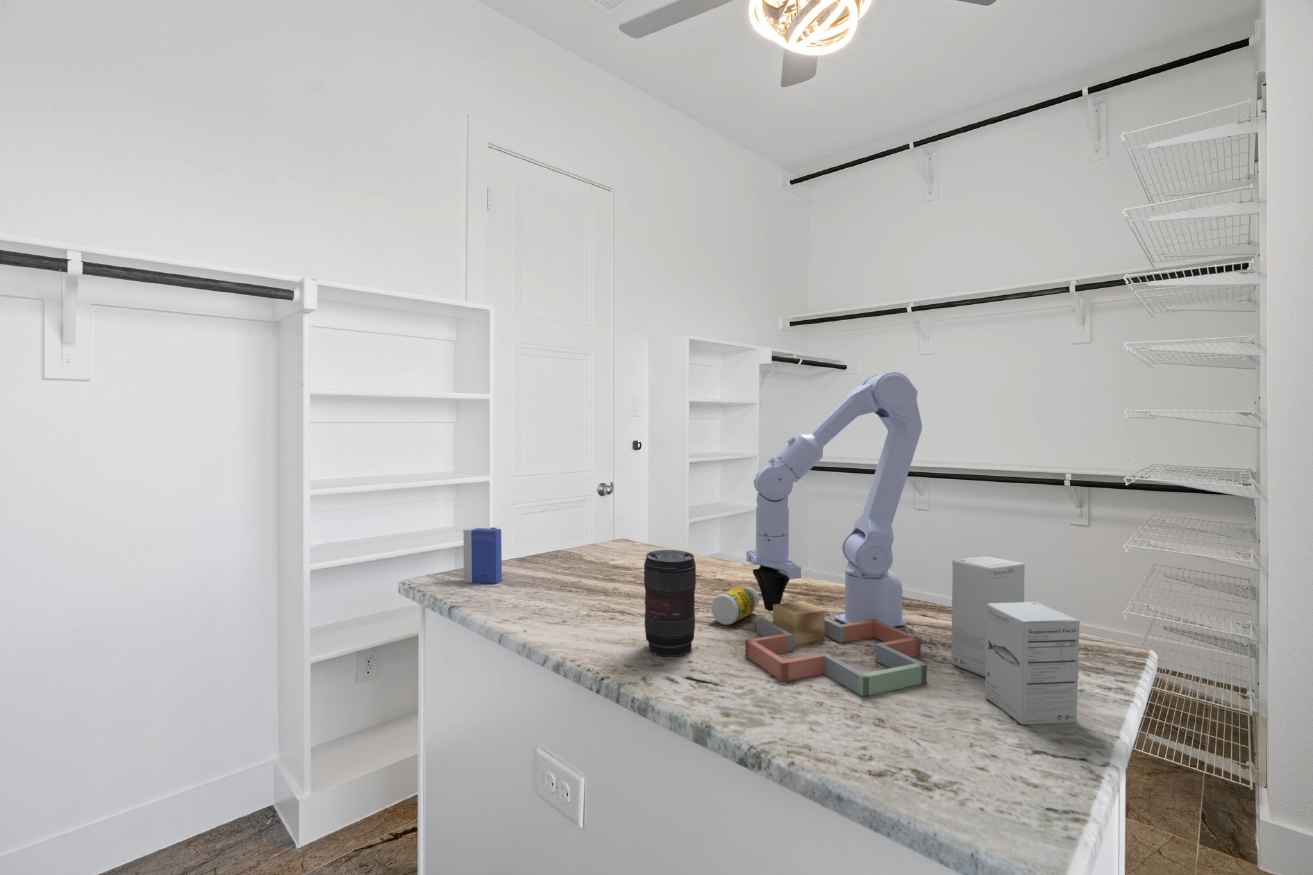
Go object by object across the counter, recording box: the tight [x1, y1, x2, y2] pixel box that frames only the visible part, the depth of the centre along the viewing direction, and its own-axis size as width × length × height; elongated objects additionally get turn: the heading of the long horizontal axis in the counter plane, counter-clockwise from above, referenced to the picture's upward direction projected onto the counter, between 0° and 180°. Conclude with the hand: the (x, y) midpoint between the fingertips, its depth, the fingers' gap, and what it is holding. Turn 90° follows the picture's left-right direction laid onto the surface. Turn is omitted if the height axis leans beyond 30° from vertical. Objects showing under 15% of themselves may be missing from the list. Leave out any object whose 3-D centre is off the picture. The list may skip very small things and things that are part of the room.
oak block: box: [772, 600, 826, 646], centre depth 104 cm, size 6×6×5 cm
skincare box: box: [950, 555, 1025, 678], centre depth 92 cm, size 8×7×16 cm
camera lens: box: [643, 549, 697, 657], centre depth 98 cm, size 8×8×15 cm
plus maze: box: [744, 616, 928, 697], centre depth 96 cm, size 25×26×2 cm
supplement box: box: [984, 601, 1080, 726], centre depth 78 cm, size 7×7×13 cm
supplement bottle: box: [710, 586, 760, 626], centre depth 114 cm, size 5×5×10 cm
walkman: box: [462, 526, 503, 585], centre depth 139 cm, size 8×3×12 cm, turn 78°
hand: (771, 609), depth 112 cm, fingers closed
